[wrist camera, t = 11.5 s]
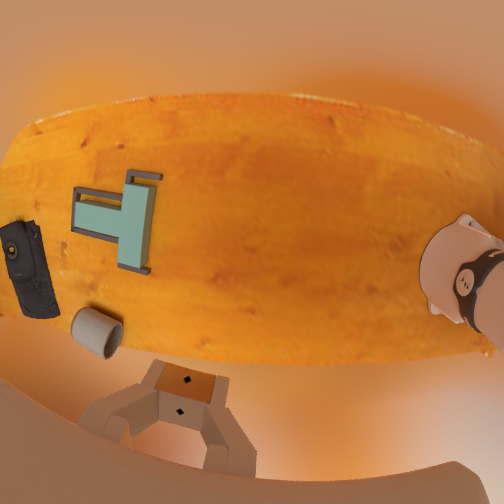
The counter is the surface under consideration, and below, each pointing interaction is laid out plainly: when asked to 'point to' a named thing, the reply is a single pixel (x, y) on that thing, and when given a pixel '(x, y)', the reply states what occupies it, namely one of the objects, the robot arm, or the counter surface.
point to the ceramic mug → (96, 332)
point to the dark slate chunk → (29, 269)
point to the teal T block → (122, 221)
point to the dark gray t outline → (115, 196)
